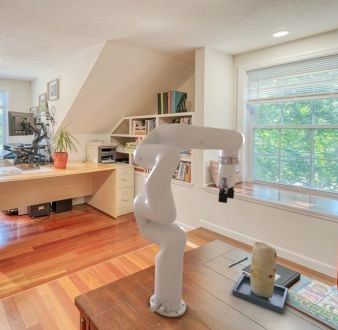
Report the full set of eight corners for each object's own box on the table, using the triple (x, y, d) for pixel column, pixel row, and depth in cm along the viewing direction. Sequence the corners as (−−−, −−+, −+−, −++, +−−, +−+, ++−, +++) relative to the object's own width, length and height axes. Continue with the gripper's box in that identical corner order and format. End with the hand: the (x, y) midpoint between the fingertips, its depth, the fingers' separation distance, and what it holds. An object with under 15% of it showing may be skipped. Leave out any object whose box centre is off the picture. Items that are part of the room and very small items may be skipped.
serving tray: (282, 314, 89) (282, 308, 89) (232, 294, 99) (232, 289, 99) (287, 293, 100) (288, 288, 100) (242, 278, 111) (243, 273, 110)
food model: (278, 299, 95) (283, 249, 93) (263, 302, 94) (267, 250, 92) (257, 284, 105) (260, 238, 103) (242, 286, 104) (246, 240, 101)
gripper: (225, 158, 116) (223, 195, 119) (212, 161, 104) (210, 202, 106) (243, 159, 111) (241, 197, 113) (232, 163, 99) (229, 205, 101)
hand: (226, 200), depth 110 cm, fingers open, 9 cm apart
